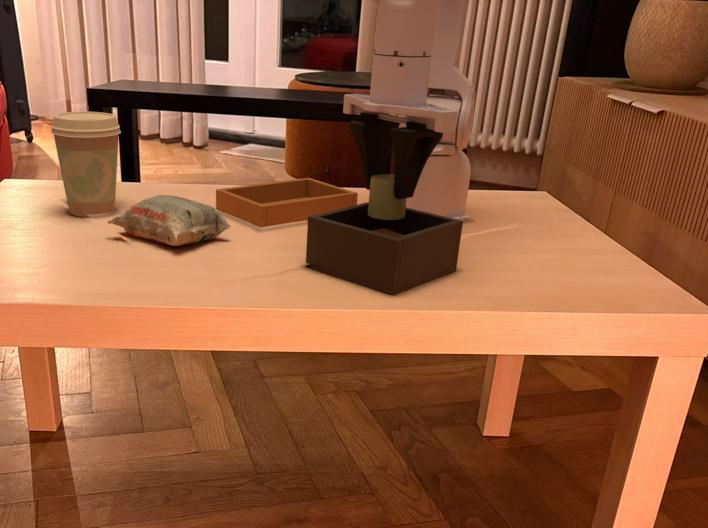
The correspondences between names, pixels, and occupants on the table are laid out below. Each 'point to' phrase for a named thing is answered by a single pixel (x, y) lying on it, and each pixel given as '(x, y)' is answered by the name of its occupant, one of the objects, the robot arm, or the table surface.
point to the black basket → (383, 247)
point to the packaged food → (171, 220)
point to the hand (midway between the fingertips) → (388, 193)
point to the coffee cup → (87, 160)
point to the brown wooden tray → (283, 201)
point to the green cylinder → (385, 199)
